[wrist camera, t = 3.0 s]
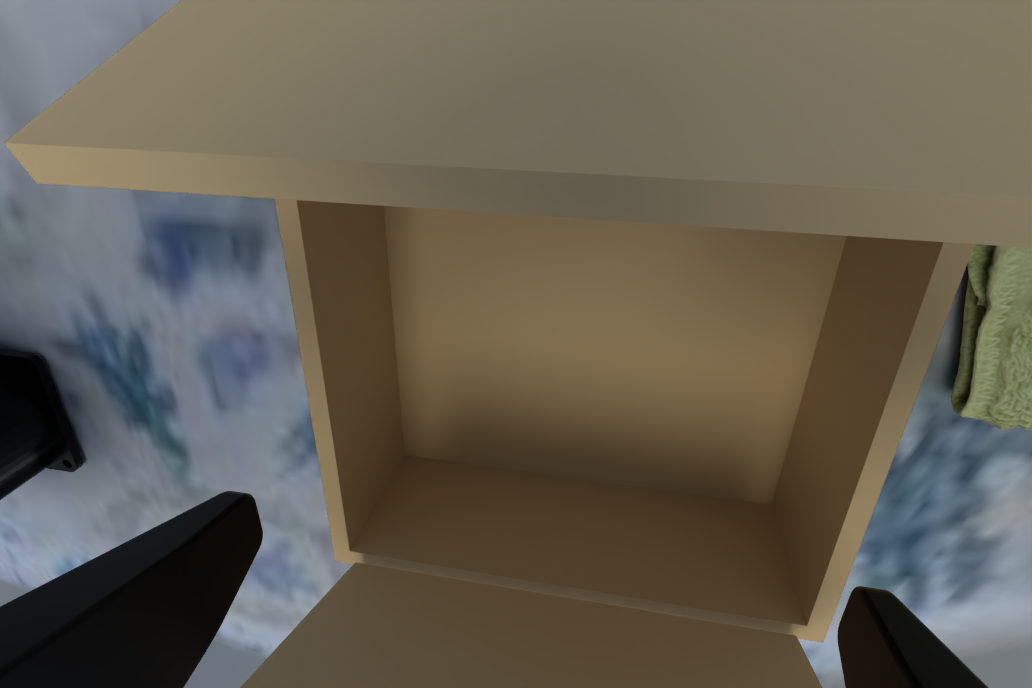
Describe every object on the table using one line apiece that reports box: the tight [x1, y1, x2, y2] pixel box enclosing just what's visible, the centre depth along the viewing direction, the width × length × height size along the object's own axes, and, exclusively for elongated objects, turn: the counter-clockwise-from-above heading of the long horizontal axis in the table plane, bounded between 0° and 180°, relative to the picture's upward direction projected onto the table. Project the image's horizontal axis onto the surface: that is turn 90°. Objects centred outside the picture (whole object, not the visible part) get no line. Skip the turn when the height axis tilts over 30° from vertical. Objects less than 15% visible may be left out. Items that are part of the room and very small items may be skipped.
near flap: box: [4, 0, 1032, 248], centre depth 9 cm, size 7×14×1 cm
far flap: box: [241, 562, 822, 688], centre depth 15 cm, size 7×14×1 cm
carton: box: [275, 199, 975, 643], centre depth 18 cm, size 18×16×6 cm
